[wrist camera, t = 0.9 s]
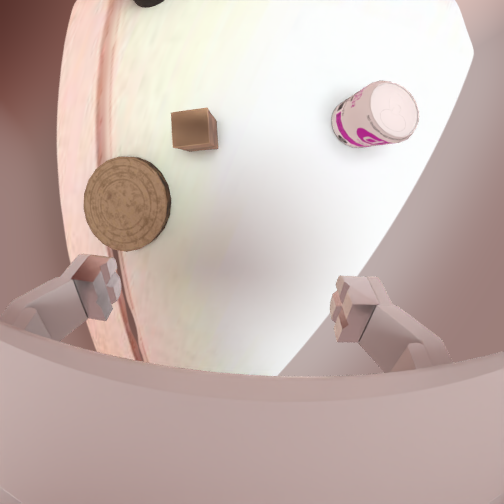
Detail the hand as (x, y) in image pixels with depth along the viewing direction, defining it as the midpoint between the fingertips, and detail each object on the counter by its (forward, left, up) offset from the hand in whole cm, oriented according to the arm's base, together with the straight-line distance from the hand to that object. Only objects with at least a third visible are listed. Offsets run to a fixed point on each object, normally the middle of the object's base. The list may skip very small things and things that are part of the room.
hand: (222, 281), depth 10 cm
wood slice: (-4, +20, -37) cm, 42 cm away
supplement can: (+14, -16, -36) cm, 42 cm away
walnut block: (+8, +8, -36) cm, 38 cm away
